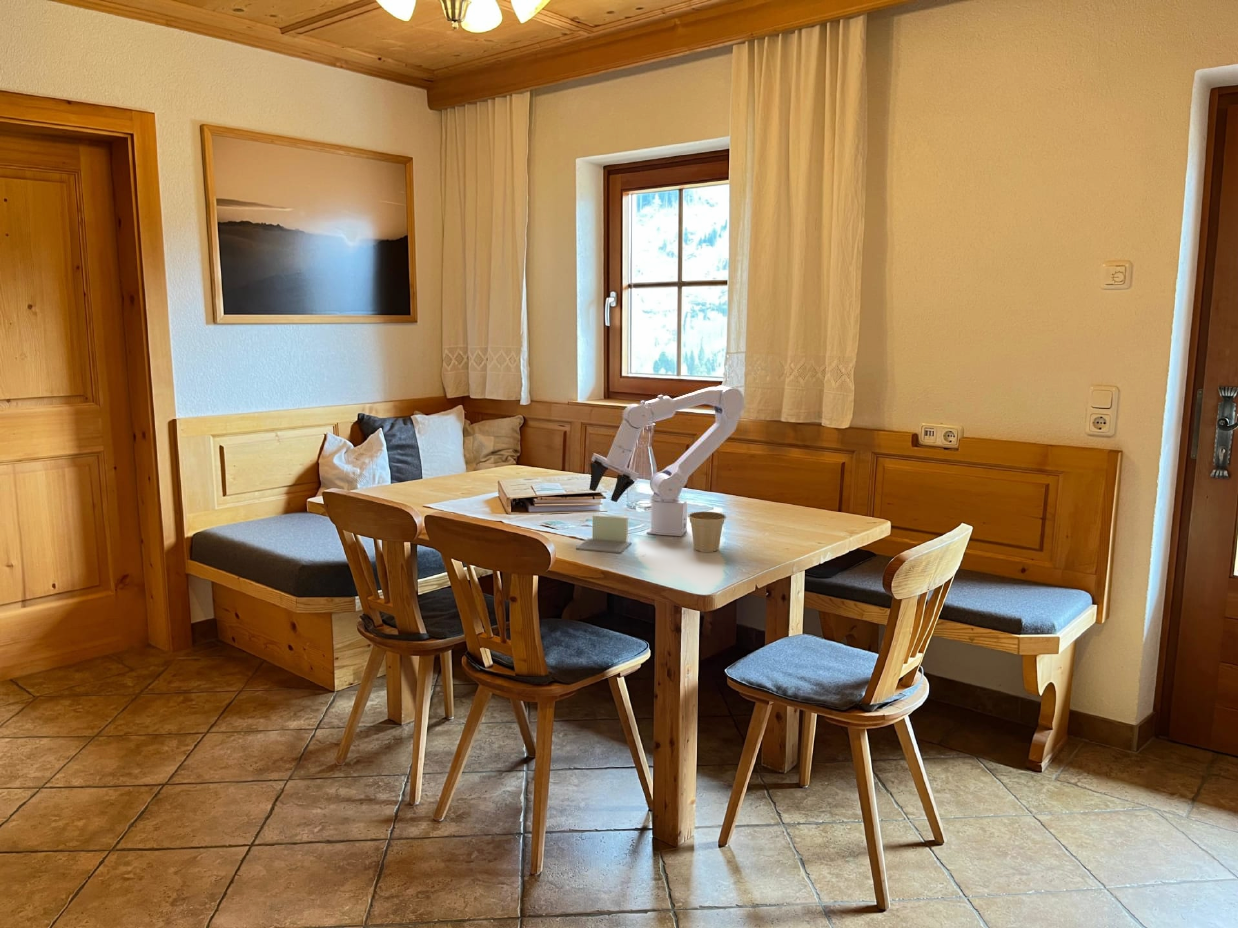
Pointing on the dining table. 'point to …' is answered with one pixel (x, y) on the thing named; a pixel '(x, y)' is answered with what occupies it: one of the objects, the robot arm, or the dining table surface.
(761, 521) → the dining table surface
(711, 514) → the flower pot
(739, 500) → the dining table surface
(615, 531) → the tile
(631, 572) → the dining table surface
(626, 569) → the dining table surface
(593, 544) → the mat
